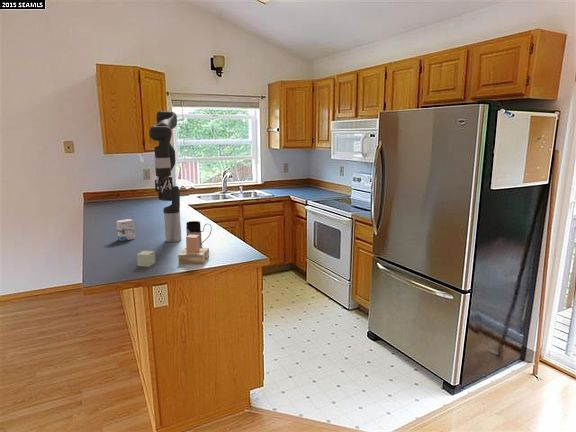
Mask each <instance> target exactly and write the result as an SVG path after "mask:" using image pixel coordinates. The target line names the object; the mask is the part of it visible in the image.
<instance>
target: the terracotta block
mask: <svg viewBox="0 0 576 432" xmlns="http://www.w3.org/2000/svg"><path fill="white" fill-rule="evenodd" d="M185 241H186V242H185V243H186V244H185V245H186V246H185V248H186V250H187V253H197V252H198V251H199V250H200V244H199V235H188V236H187V235H186V236H185Z"/></svg>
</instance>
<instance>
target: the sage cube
mask: <svg viewBox="0 0 576 432" xmlns="http://www.w3.org/2000/svg"><path fill="white" fill-rule="evenodd" d="M136 260H137V261H136V262H137V267H146V268H147V267H148V268H150V267H151V266H152V265H154V264H156V252H155V251H154V250H142V251H140V252H139V253H136Z"/></svg>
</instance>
